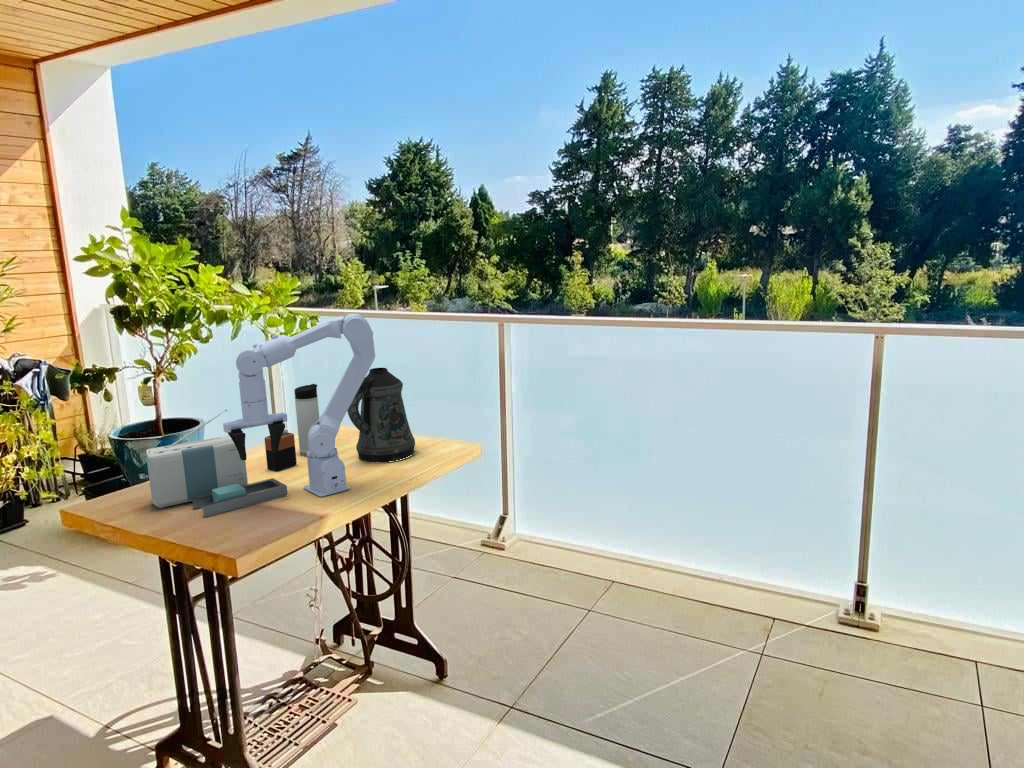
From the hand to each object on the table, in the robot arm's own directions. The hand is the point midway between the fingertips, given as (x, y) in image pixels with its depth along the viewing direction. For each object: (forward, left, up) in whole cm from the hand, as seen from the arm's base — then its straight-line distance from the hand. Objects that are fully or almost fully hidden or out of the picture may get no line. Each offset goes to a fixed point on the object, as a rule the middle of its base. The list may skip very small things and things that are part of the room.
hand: (259, 456), depth 166 cm
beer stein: (+7, -38, -10) cm, 40 cm away
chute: (0, +6, -10) cm, 12 cm away
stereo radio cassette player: (+11, +11, -10) cm, 19 cm away
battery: (+19, -13, -10) cm, 25 cm away
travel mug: (+26, -25, -10) cm, 37 cm away
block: (0, +8, -10) cm, 13 cm away
